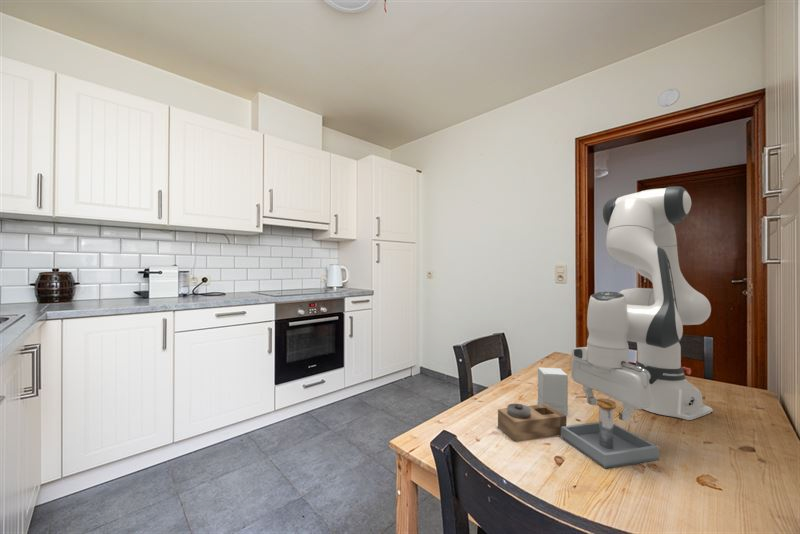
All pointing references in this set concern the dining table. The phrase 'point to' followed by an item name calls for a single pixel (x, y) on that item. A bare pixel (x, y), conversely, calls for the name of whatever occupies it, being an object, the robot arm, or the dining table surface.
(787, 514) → the dining table surface
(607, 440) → the pin
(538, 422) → the block
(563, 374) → the supplement box
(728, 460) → the dining table surface
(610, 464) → the tray
